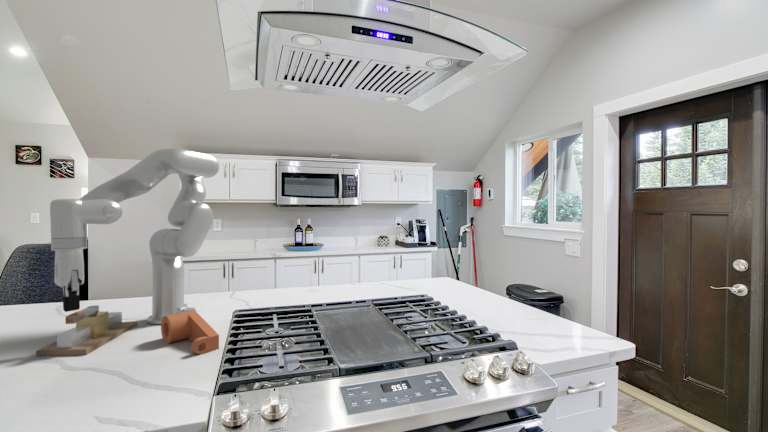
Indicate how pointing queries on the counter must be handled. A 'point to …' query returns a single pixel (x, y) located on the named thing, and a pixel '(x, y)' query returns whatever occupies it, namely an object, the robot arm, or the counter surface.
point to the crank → (190, 331)
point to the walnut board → (87, 342)
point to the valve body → (89, 329)
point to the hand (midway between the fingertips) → (71, 309)
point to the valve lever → (81, 314)
